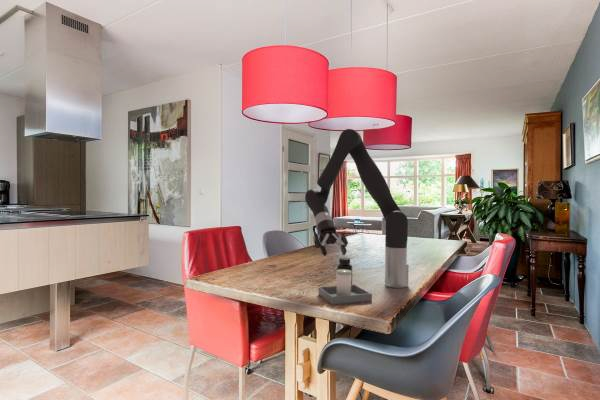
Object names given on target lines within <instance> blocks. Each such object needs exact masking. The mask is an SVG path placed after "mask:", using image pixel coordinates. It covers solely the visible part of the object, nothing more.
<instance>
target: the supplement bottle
mask: <svg viewBox="0 0 600 400" xmlns="http://www.w3.org/2000/svg"><path fill="white" fill-rule="evenodd" d="M340 269H346V270H351V271H352V273H351V285H353V265H352V264H351V258H349V257H340V258H339V259H338V264H337V266H336V271H337V270H340Z"/></svg>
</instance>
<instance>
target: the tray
mask: <svg viewBox="0 0 600 400" xmlns="http://www.w3.org/2000/svg"><path fill="white" fill-rule="evenodd" d="M336 288H337V285H332V286H331V285H330V286H328V285H327V286H318V295H319V296H320V297H321V298H322V299H324V300H325V301H327V302H328V303H329V304H330V305H331V306H340V305H341V306H342V305H349V304H351V305H352V304H360V303H362V304H363V303H372V301H373V300H372V299H373V293H372V292H370V291H367V290H366V289H365V288H362V287H360V286H358V285H357V284H354V283H353V284H352V285H351V295H344V296H336Z"/></svg>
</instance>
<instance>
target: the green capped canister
mask: <svg viewBox="0 0 600 400" xmlns="http://www.w3.org/2000/svg"><path fill="white" fill-rule="evenodd" d="M351 273H352V274H353V270H352V271H351V270H346V269H340V270H337V269H336V273H335V274H336V286H337V288H336V296H344V295H351Z"/></svg>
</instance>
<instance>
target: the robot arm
mask: <svg viewBox="0 0 600 400" xmlns="http://www.w3.org/2000/svg"><path fill="white" fill-rule="evenodd" d="M349 155H350V157H351V158H352V159H353V161H354V163H355V166H356V170H357V173H358V175H359V178H360V180H361V182H362V184H363V186H364V187H365V188H366V191H367V192H368V194H369V195H370V197H371V198H372V199H373V201H374V202H375V203H376V204H377V206H378V208H379V210H380V211H381V214H382V216H383V218H384V221H385V242H384V244H385V245H384V247H385V248H384V249H385V251H384V252H385V253H384V265H385V266H384V286H386V287H389V288H395V289H403V288H406V287H409V271H410V270H409V264H408V260H407V258H408V253H407V252H408V236H409V235H408V234H409V233H408V231H409V230H408V229H409V224H408V223H409V221H408V217H407V215H406V214H405V213H404V212H403V211H402V210H401V209H400V207H399V206H398V204H397V203H396V201H395V199H394V198H393V195H392V194H391V190H390V187H389V185H388V183H387V181H386V179H385V177H384V175H383V173H382V172H381V170H380V168H379V167H378V165H377V163H375V161H374V159H373V158H372V157H371V156H370V154H369V151H368V150H367V148H366V146H365V143H364V141H363V139H362V136H361V135H360V133H359V132H358V131H356V129H353V128H346V129H344V130H343V131H342V132H340V135H339V137H338V140H337V142H336V145H335V147H334V150H333V153H332V154H331V156H330V158H329V160H328V162H327V163H326V165H325V167H324V169H323V171H322V172H321V174H320V175H319V177H318V179H317V182H316V184H317V186H319V187H320V191H319V190H316V189H315V188H312V189H308V190H307V191H306V192H305V194H304V196H305V197H304V199H305V202H306V205H307V206H308V207H309V209H310V211H311V212H312V214H313V217H314V218H313V219H314V220H315V221H314V222H315V226H316V228H317V231H318V233H316V232H315V233H314V234H313V237H312V238H313V243H314V247H315V248H316V249H319V250H320V252H321V254H322V255H323V256H324V257H326V256H327V254H328V252H327V250H326V246H325V245H335V246H338V247H339V248H340V251H341V254H342V256H345V255H346V253H347V248H346V247H347V246H348V243H349V242H348V239H347V237H346V235H345V233H344V232H341V233H339V234H338V233H337V230H336V226H335V224H334V221H333V218H332V216H331V214H330V212H329V208H328V207H327V205H326V203H327V202H328V198H329V195H330V191H331V188H332V186H333V185H334V183H335V181H336V179H337V177H338V176H339V174H340V172H341V168H342V166H343V164H344V162H345V160H346V158H347V157H348V156H349ZM320 240H321V241H322V242H321V243H320Z"/></svg>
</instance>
